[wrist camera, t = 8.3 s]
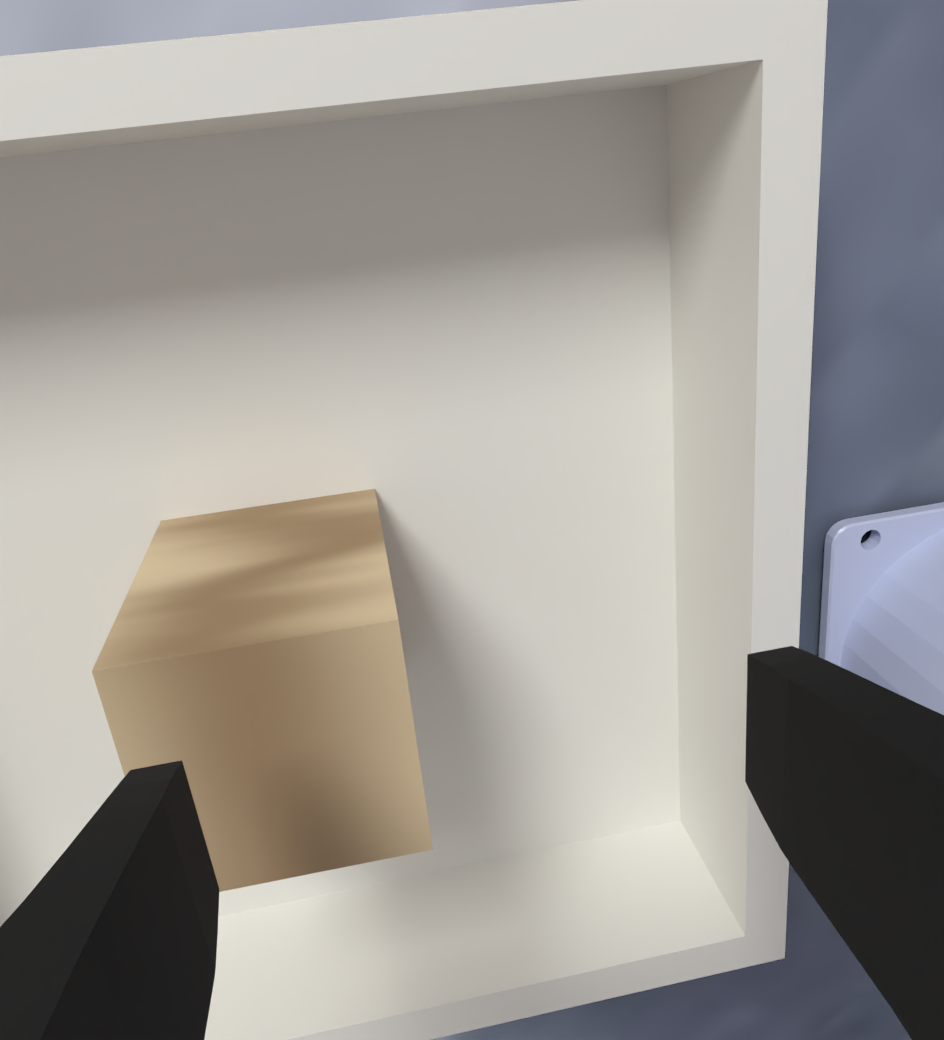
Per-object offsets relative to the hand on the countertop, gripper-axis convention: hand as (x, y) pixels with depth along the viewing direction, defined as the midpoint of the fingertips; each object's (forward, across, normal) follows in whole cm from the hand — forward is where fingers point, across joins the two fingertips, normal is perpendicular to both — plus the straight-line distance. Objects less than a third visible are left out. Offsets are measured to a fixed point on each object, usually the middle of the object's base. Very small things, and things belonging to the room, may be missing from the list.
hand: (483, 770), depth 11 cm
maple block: (+9, +3, +1) cm, 9 cm away
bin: (+9, +3, +1) cm, 10 cm away
